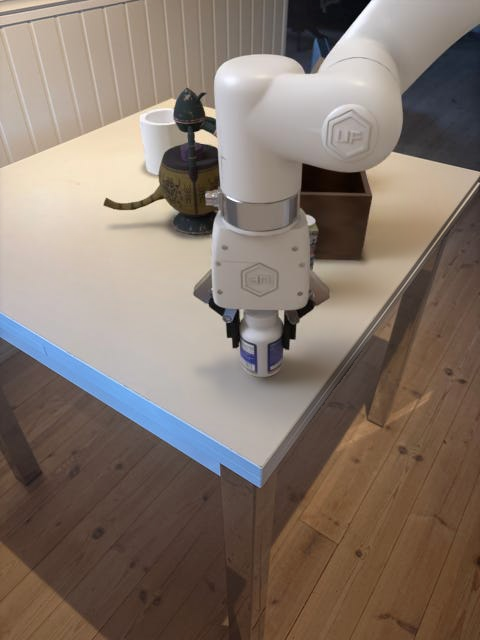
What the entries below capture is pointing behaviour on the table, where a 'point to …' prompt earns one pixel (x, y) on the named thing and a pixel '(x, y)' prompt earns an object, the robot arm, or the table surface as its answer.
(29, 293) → the table surface
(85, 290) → the table surface
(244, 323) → the pill bottle
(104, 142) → the table surface
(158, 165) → the mug
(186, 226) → the teapot
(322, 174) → the chest
